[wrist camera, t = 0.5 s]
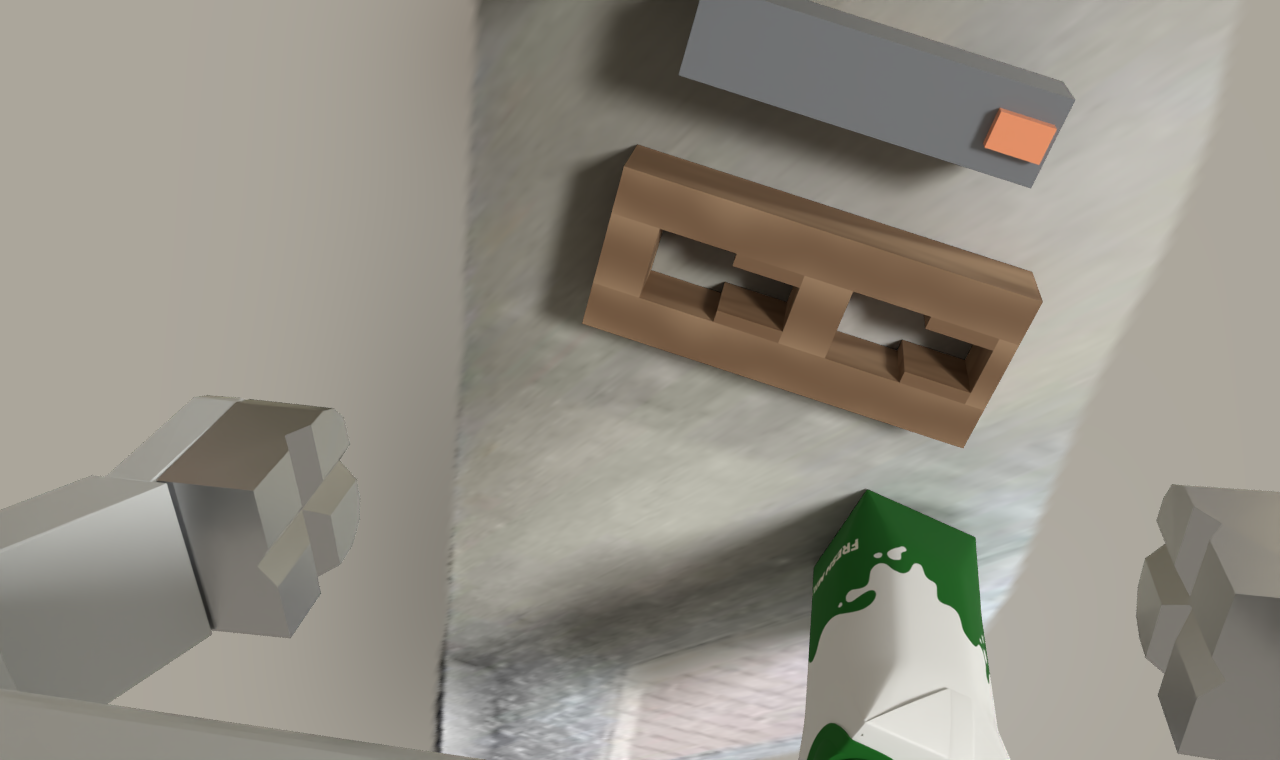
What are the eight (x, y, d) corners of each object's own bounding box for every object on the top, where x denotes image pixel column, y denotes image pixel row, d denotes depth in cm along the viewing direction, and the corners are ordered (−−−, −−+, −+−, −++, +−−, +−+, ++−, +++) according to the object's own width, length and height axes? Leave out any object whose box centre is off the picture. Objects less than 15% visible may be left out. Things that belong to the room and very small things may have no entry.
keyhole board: (637, 144, 52) (623, 166, 49) (1032, 272, 51) (1042, 301, 48) (596, 295, 57) (581, 323, 54) (957, 413, 56) (963, 448, 53)
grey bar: (719, -37, 47) (703, -16, 42) (1054, 69, 46) (1078, 103, 41) (695, 49, 49) (676, 78, 44) (1015, 151, 48) (1033, 193, 43)
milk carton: (860, 470, 59) (860, 746, 42) (1000, 533, 60) (1055, 831, 43) (793, 571, 64) (768, 856, 47) (923, 628, 64) (945, 931, 47)
